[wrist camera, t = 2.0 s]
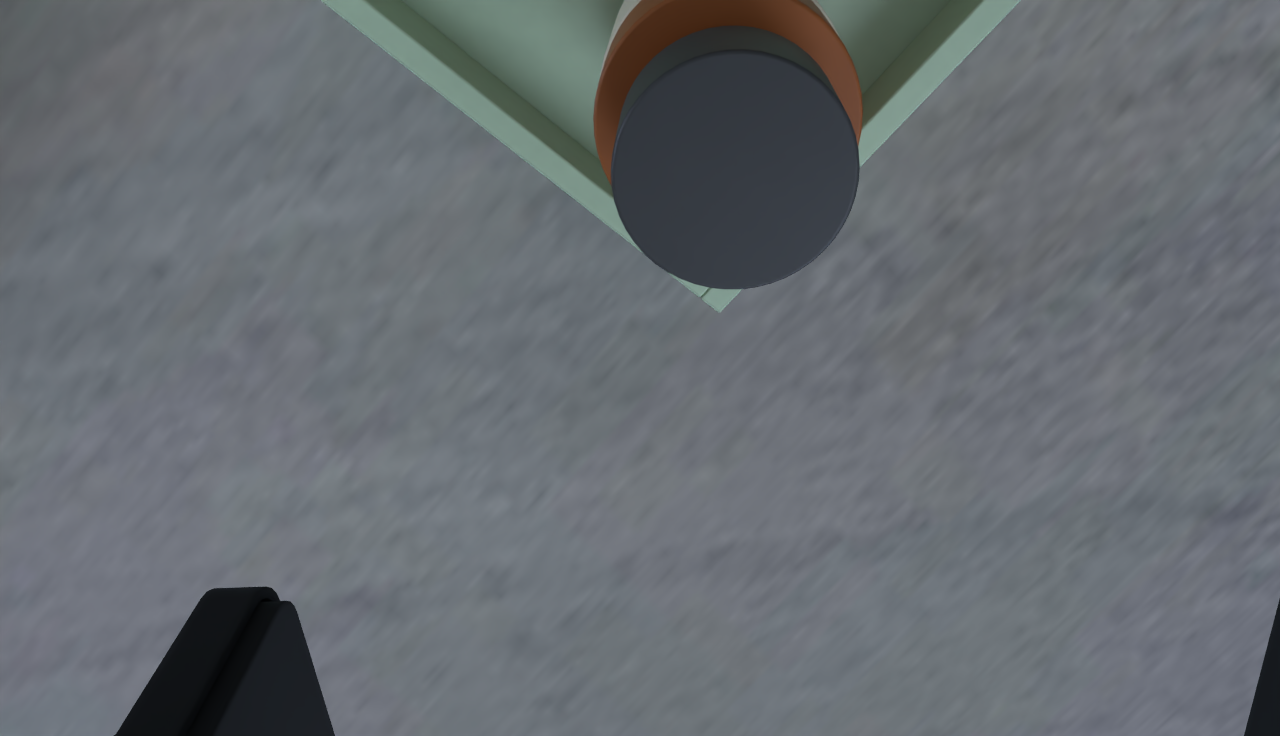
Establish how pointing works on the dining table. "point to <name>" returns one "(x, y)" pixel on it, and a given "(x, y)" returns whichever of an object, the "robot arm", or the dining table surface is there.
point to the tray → (573, 55)
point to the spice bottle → (729, 135)
